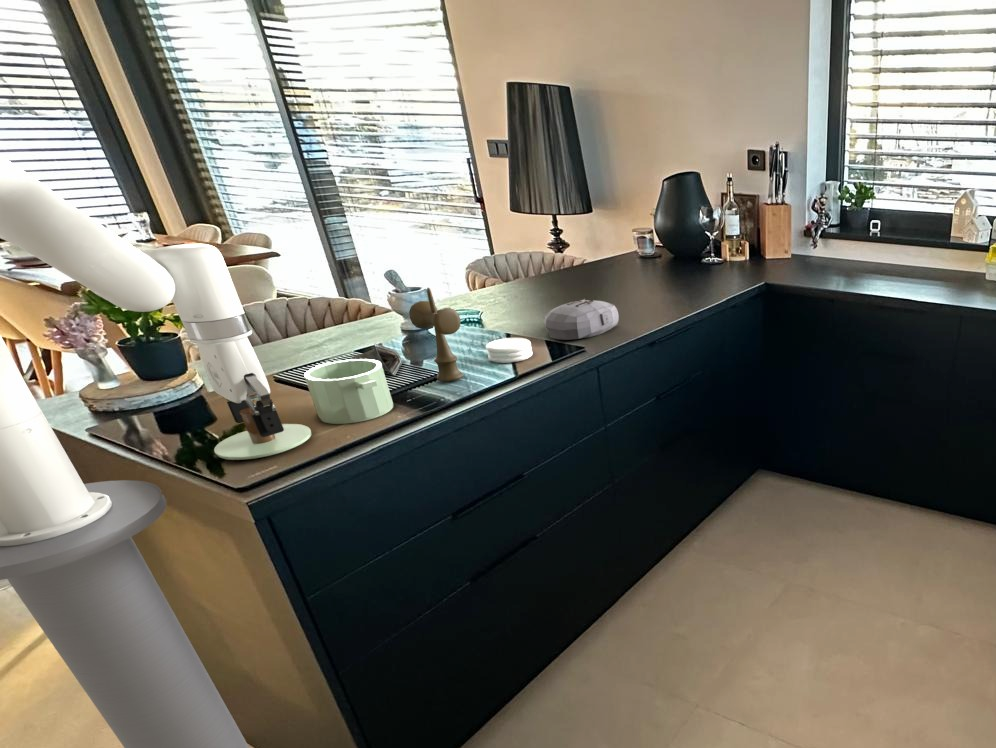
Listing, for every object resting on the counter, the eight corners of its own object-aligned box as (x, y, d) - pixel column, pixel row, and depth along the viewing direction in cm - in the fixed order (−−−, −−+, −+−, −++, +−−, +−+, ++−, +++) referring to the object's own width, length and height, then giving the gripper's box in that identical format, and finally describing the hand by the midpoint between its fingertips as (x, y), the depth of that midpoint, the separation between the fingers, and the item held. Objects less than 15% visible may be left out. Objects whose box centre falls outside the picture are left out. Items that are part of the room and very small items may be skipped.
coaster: (486, 353, 152) (483, 340, 151) (529, 348, 157) (527, 335, 155) (490, 366, 145) (487, 351, 143) (536, 360, 149) (533, 346, 147)
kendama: (451, 371, 141) (429, 282, 132) (476, 380, 136) (455, 288, 127) (424, 379, 136) (400, 286, 127) (450, 388, 132) (427, 293, 123)
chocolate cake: (369, 364, 145) (336, 340, 133) (400, 353, 146) (369, 329, 135) (380, 399, 143) (347, 378, 131) (411, 387, 144) (381, 366, 132)
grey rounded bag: (586, 320, 181) (533, 337, 165) (582, 291, 177) (527, 306, 161) (627, 327, 175) (576, 346, 159) (624, 297, 172) (571, 313, 156)
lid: (235, 470, 99) (219, 433, 96) (203, 449, 105) (186, 413, 102) (326, 441, 108) (314, 406, 106) (292, 423, 115) (279, 390, 112)
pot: (346, 433, 112) (331, 388, 108) (300, 410, 120) (285, 368, 116) (413, 411, 121) (401, 369, 117) (367, 392, 129) (354, 352, 125)
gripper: (166, 323, 99) (211, 422, 106) (210, 343, 90) (255, 448, 98) (225, 313, 104) (263, 408, 112) (271, 331, 96) (309, 431, 104)
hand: (259, 426), depth 105 cm, fingers open, 9 cm apart
